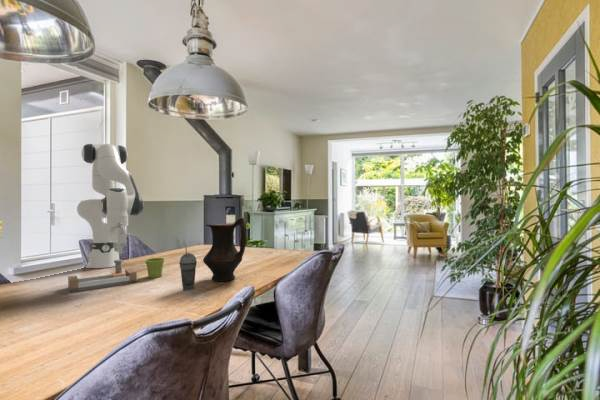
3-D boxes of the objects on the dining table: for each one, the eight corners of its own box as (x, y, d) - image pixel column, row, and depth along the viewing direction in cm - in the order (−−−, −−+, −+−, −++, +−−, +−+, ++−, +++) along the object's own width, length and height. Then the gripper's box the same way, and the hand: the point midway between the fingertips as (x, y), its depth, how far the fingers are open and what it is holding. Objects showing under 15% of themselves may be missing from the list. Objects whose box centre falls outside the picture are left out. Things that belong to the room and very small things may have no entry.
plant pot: (151, 279, 166) (150, 262, 165) (141, 277, 171) (140, 259, 171) (168, 276, 173) (168, 259, 173) (158, 273, 179) (158, 257, 179)
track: (68, 287, 153) (68, 276, 153) (132, 278, 168) (131, 268, 168) (69, 292, 145) (69, 280, 145) (136, 282, 161) (136, 271, 160)
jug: (195, 283, 158) (194, 218, 157) (213, 274, 176) (212, 216, 176) (239, 285, 154) (238, 218, 154) (252, 275, 172) (251, 216, 172)
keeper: (111, 278, 162) (111, 260, 161) (123, 277, 165) (122, 258, 165) (113, 281, 156) (113, 262, 156) (126, 279, 159) (125, 260, 159)
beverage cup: (191, 292, 144) (191, 244, 144) (176, 291, 145) (175, 244, 145) (200, 287, 151) (199, 242, 151) (185, 286, 152) (184, 241, 152)
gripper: (129, 223, 154) (130, 254, 154) (121, 221, 170) (121, 249, 170) (114, 224, 150) (114, 255, 150) (106, 222, 166) (107, 250, 166)
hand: (118, 252), depth 160 cm, fingers open, 8 cm apart
